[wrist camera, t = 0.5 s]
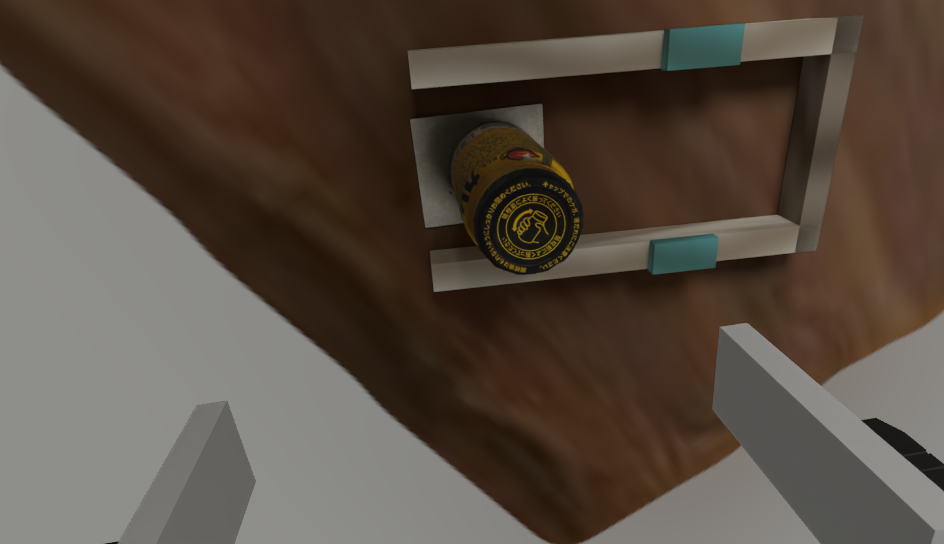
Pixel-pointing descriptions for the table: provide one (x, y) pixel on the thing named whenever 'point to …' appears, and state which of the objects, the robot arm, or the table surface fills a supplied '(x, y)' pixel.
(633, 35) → the rail track
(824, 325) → the table surface
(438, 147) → the condiment
